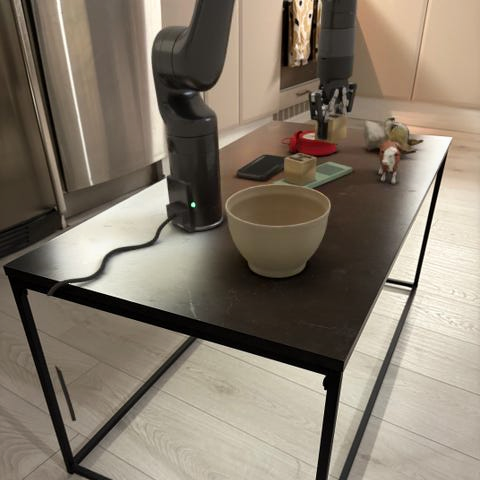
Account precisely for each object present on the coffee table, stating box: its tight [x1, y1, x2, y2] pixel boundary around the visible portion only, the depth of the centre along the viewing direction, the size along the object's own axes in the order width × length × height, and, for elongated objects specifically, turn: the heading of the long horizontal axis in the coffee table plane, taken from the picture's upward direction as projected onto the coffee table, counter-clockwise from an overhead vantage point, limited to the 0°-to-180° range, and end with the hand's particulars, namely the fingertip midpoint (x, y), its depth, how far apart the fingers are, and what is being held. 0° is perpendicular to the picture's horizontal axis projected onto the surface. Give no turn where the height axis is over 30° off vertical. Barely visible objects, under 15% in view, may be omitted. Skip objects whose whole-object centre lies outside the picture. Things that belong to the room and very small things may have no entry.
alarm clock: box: [280, 129, 338, 156], centre depth 133 cm, size 10×6×15 cm
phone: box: [236, 153, 287, 182], centre depth 122 cm, size 8×1×15 cm
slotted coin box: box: [314, 111, 349, 144], centre depth 113 cm, size 5×5×5 cm
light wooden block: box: [283, 152, 317, 186], centre depth 111 cm, size 5×5×5 cm
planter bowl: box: [224, 183, 332, 279], centre depth 80 cm, size 16×16×11 cm
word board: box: [271, 161, 354, 189], centre depth 116 cm, size 20×7×1 cm, turn 133°
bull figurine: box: [377, 140, 402, 184], centre depth 113 cm, size 4×13×8 cm, turn 166°
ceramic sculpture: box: [363, 117, 424, 156], centre depth 129 cm, size 11×9×15 cm
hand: (330, 136), depth 114 cm, fingers closed on slotted coin box, 5 cm apart
